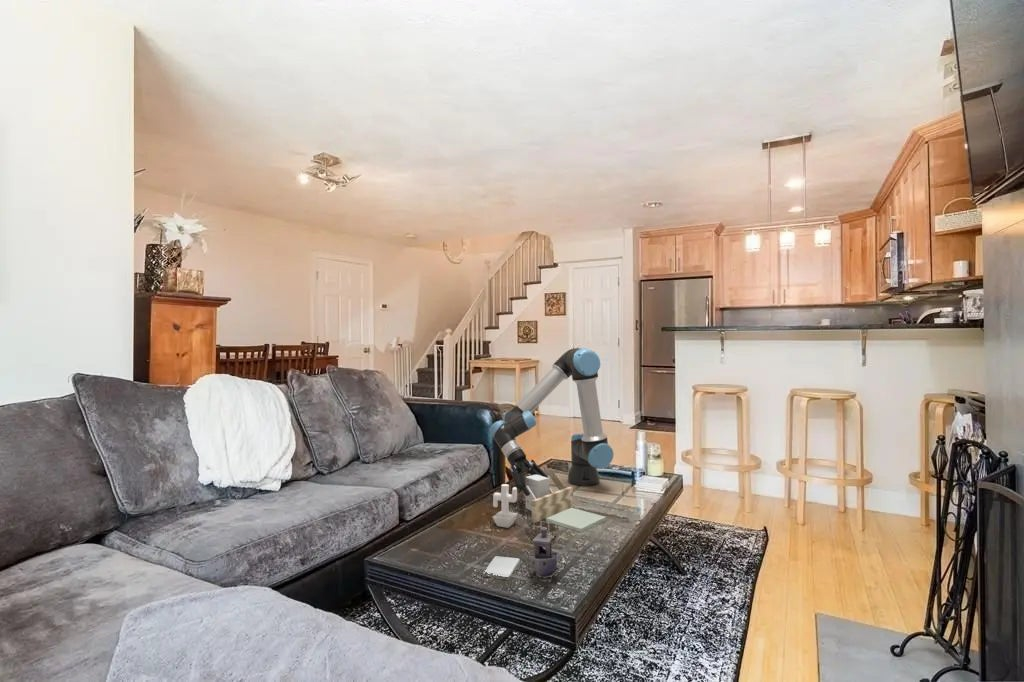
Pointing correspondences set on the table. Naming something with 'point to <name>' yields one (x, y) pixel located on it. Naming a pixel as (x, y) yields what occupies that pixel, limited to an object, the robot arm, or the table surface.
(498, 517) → the figurine
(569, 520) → the display plate
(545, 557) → the toy boat
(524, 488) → the robot arm
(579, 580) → the table surface
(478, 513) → the table surface
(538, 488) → the small box
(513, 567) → the hard drive
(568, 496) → the wooden screen
